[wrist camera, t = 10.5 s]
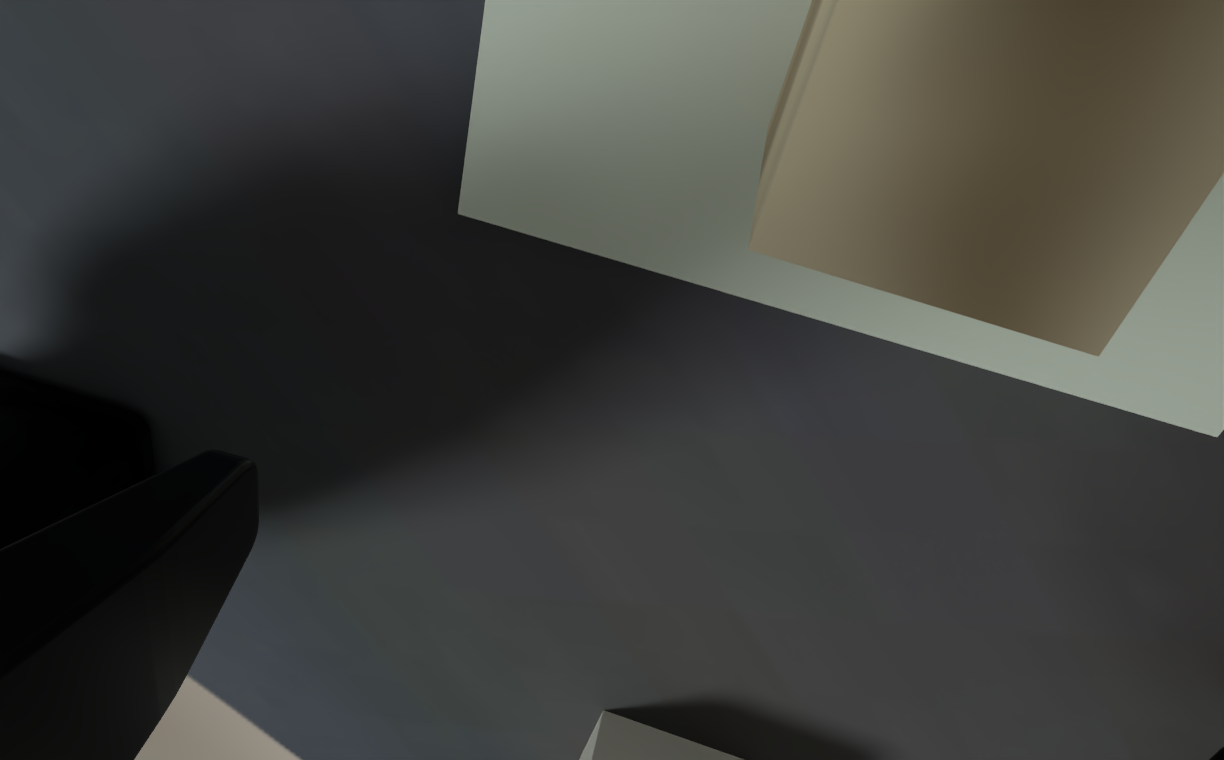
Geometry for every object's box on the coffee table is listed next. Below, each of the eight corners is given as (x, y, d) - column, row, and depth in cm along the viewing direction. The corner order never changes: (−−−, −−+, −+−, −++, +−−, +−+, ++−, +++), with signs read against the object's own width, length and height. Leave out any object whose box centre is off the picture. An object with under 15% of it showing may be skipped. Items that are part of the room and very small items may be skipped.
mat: (466, 202, 19) (457, 213, 19) (576, -596, 12) (564, -610, 12) (1207, 419, 19) (1216, 437, 19) (1760, -280, 12) (1798, -282, 11)
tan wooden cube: (767, 127, 17) (748, 250, 13) (877, -186, 14) (896, -156, 10) (1033, 207, 17) (1098, 356, 13) (1200, -91, 14) (1356, -21, 10)
